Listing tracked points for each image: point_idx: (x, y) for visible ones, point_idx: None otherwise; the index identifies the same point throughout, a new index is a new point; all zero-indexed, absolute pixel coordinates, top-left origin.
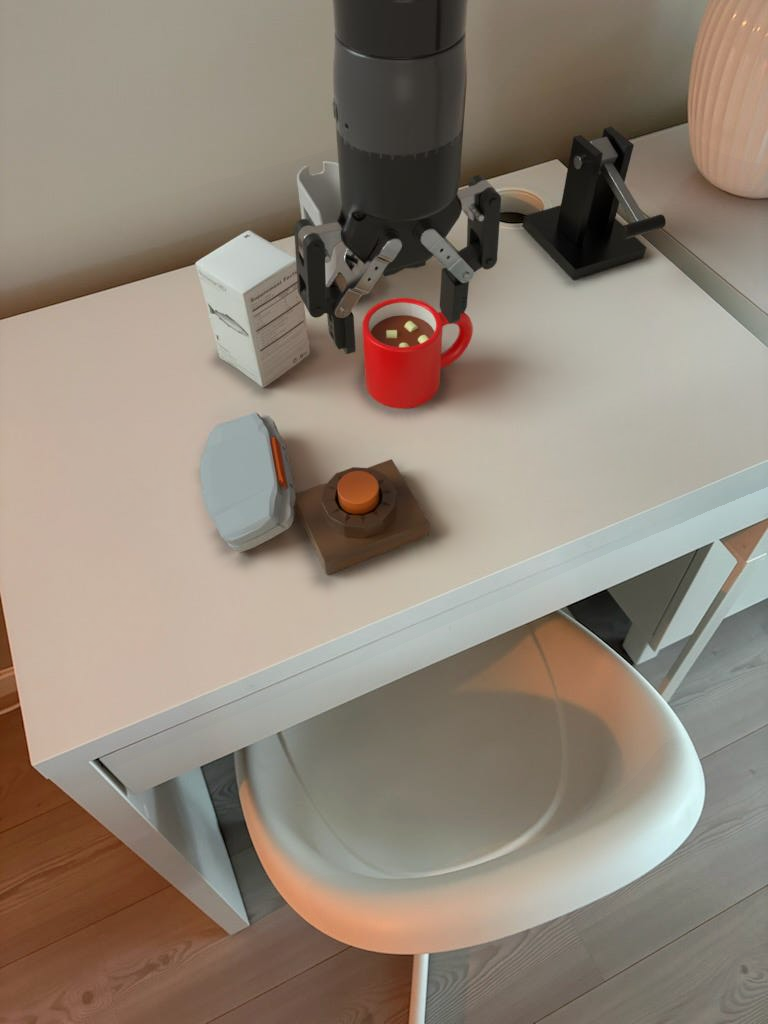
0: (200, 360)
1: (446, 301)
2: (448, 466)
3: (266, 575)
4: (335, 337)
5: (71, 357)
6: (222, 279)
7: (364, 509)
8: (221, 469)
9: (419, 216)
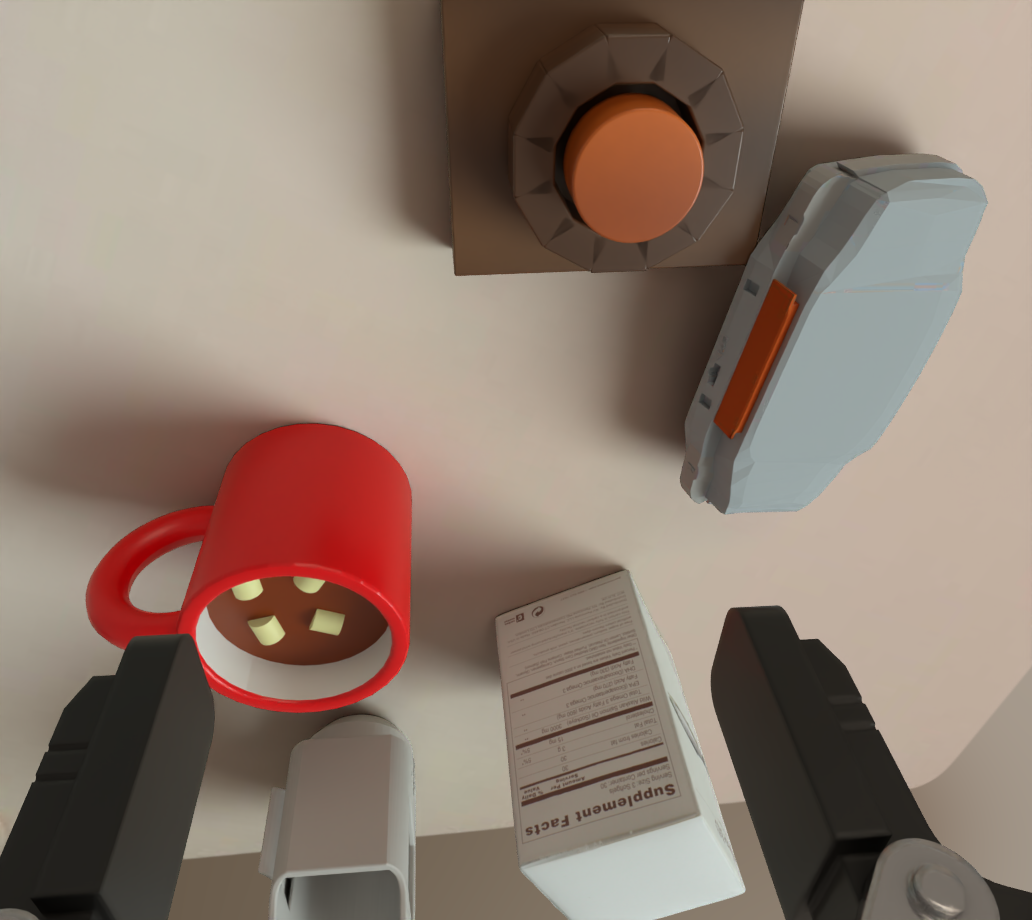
0: (704, 655)
1: (177, 761)
2: (288, 210)
3: (910, 61)
4: (862, 708)
5: (895, 710)
6: (719, 852)
7: (644, 98)
8: (871, 394)
9: None
